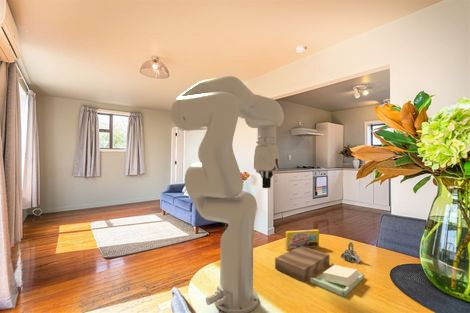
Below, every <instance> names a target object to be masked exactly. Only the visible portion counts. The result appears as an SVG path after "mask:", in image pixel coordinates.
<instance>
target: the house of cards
mask: <svg viewBox="0 0 470 313" xmlns="http://www.w3.org/2000/svg"><path fill="white" fill-rule="evenodd" d="M354 247H355V246H354V244H353V242H352V241H351V242H349V243H348V245H347V248H346V249H345V250H344V252H342V254H340V258H342V259H344V258H345V259H344V261H347V262H352V263H355V264H359V263H361V262H363V259H361V257H360V256H359V255H358V253H357V251H355V250H354Z"/></svg>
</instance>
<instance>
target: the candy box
mask: <svg viewBox="0 0 470 313" xmlns="http://www.w3.org/2000/svg"><path fill="white" fill-rule="evenodd" d="M284 246H285V247H284V249H285V250H286V251H292V250H294V249H296V248H298V247H300V246H304V247H307V248H310V249H312V248H319V247H320V230H319V229H318V228H317V229H302V230H301V229H300V230H287V231H285V245H284Z"/></svg>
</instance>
